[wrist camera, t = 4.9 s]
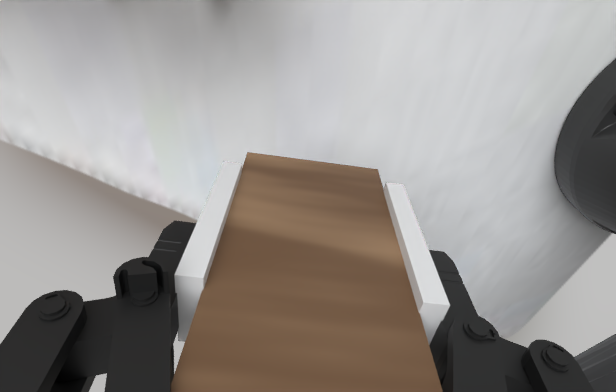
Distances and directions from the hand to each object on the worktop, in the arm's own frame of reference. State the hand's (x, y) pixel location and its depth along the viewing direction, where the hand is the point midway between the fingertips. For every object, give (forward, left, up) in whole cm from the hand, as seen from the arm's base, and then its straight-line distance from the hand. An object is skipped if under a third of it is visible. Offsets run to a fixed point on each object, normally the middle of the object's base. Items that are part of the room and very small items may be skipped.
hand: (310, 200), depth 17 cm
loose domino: (0, 0, -2) cm, 2 cm away
